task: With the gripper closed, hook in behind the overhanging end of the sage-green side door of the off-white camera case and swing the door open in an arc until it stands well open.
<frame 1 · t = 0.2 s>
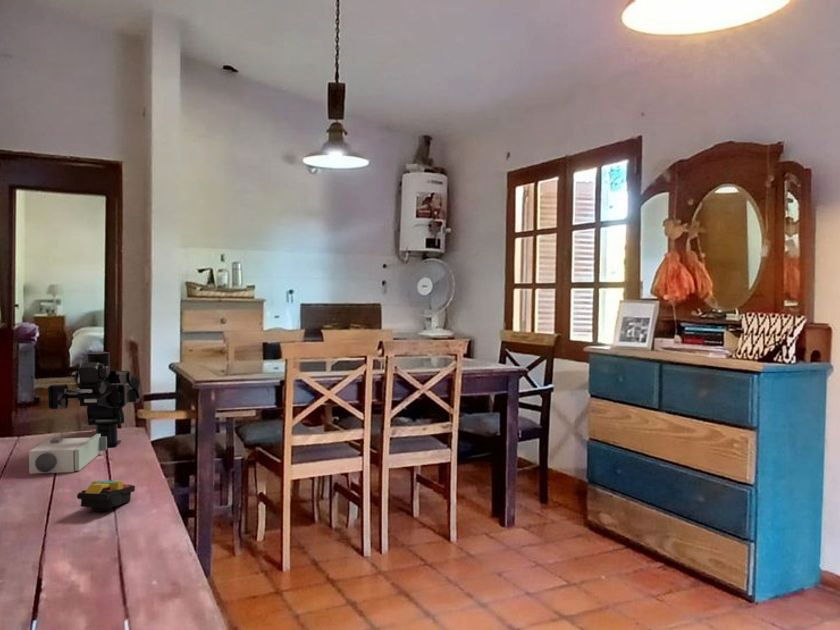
hand: (78, 402, 177), 16 cm above the table, fingers open, 9 cm apart
camera case: (61, 465, 179), on the table
gadget: (110, 507, 146), on the table
side door: (91, 451, 183), point 3 cm above the table, hinge at 0.0°
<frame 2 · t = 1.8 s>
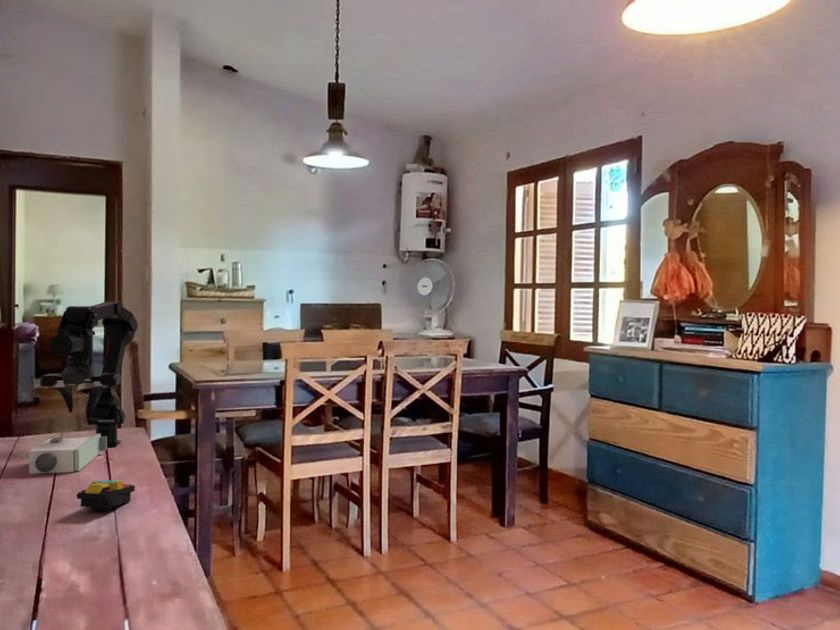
hand: (81, 412, 188), 12 cm above the table, fingers open, 5 cm apart
nothing on the table moved.
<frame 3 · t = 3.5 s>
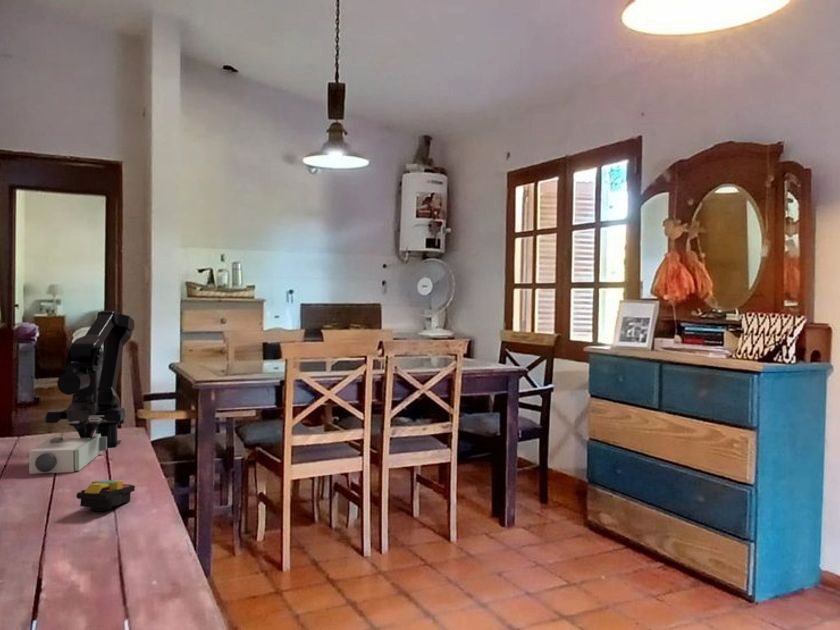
hand: (86, 447, 188), 2 cm above the table, fingers closed
side door: (91, 451, 183), point 3 cm above the table, hinge at 0.1°, touching gripper
everything else where it was.
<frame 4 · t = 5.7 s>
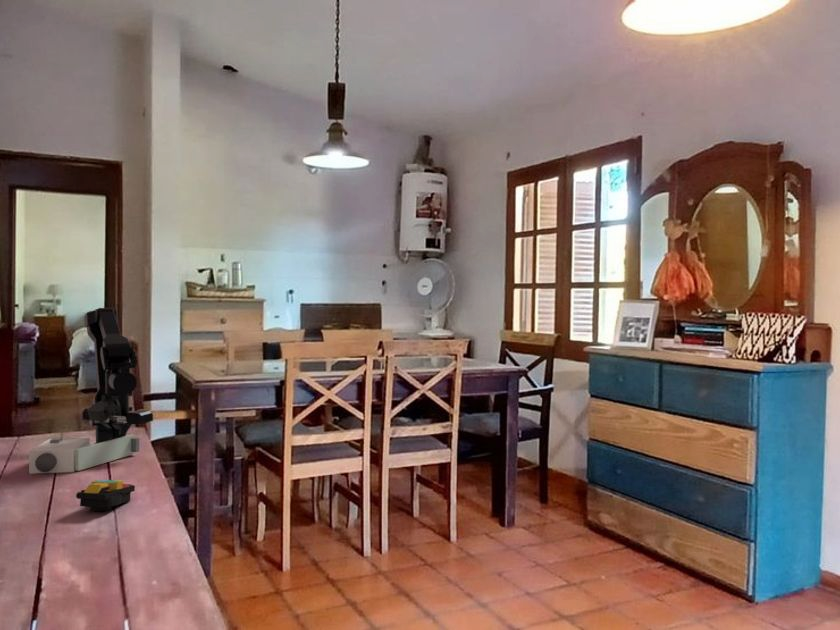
hand: (117, 447, 189), 3 cm above the table, fingers closed
side door: (108, 451, 182), point 3 cm above the table, hinge at 29.5°, touching gripper
everything else where it was.
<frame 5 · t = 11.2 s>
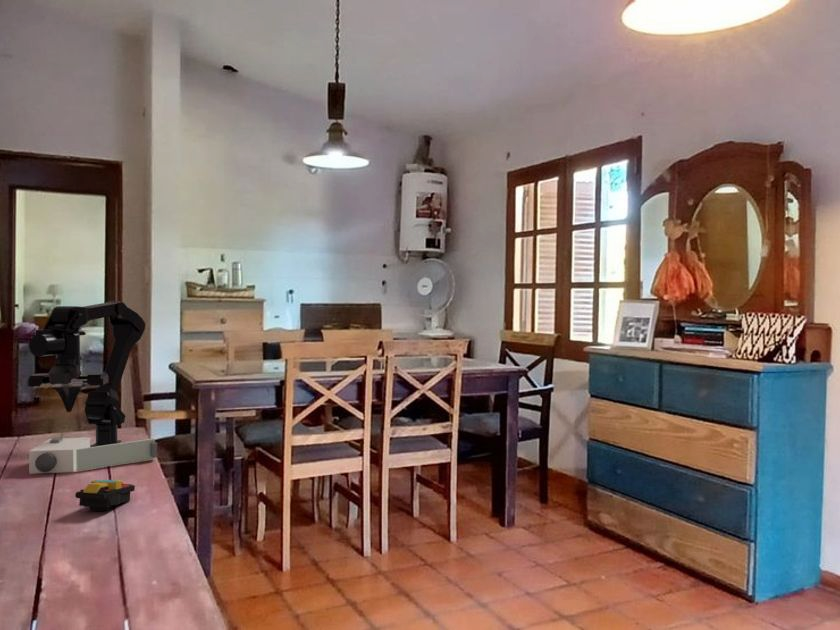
hand: (69, 411, 188), 12 cm above the table, fingers closed
side door: (118, 454, 179), point 3 cm above the table, hinge at 58.0°
everything else where it was.
at the end: side door at +58° (first picture: +0°); gadget moved 0.6 cm from its start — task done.
